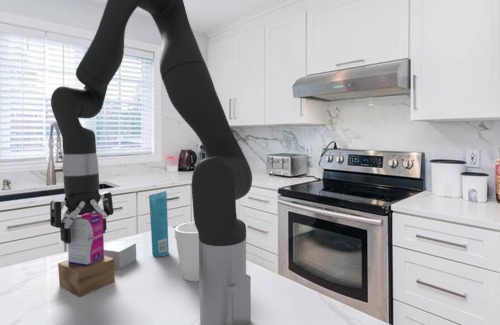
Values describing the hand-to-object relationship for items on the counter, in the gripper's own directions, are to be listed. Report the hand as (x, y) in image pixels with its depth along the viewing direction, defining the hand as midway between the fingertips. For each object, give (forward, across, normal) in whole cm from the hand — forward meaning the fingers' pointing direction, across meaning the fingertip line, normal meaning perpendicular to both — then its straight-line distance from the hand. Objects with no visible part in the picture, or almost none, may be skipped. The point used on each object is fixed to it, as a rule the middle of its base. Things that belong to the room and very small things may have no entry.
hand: (85, 237), depth 78 cm
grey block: (+12, +12, +5) cm, 18 cm away
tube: (+12, +23, 0) cm, 26 cm away
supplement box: (+6, 0, 0) cm, 6 cm away
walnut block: (+12, 0, 0) cm, 12 cm away
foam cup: (+12, +18, -19) cm, 29 cm away
